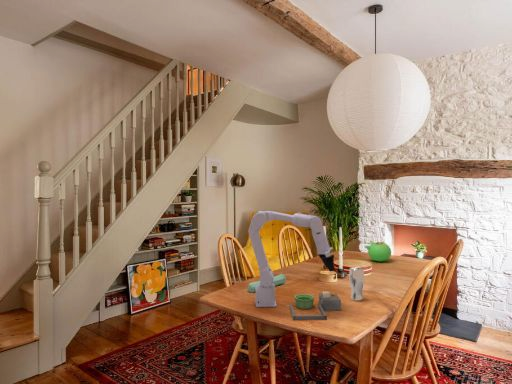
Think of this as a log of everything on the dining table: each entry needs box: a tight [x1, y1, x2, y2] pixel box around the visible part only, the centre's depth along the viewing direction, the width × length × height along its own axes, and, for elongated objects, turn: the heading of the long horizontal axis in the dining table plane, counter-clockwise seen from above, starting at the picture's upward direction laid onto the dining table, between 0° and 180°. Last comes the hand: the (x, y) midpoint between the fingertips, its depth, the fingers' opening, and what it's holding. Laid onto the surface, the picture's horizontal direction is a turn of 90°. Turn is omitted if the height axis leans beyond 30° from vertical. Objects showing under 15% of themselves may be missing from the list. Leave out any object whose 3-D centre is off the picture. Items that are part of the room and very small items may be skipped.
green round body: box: [364, 240, 392, 263], centre depth 250 cm, size 18×17×15 cm
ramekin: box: [294, 293, 315, 310], centre depth 157 cm, size 9×9×4 cm
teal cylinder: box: [247, 273, 287, 293], centre depth 187 cm, size 6×6×25 cm
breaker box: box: [318, 292, 342, 311], centre depth 156 cm, size 8×10×5 cm
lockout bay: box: [289, 303, 328, 321], centre depth 147 cm, size 14×14×2 cm
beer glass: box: [348, 266, 365, 302], centre depth 166 cm, size 7×7×15 cm
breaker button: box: [321, 291, 330, 298], centre depth 156 cm, size 3×3×3 cm
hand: (330, 269), depth 157 cm, fingers open, 7 cm apart
